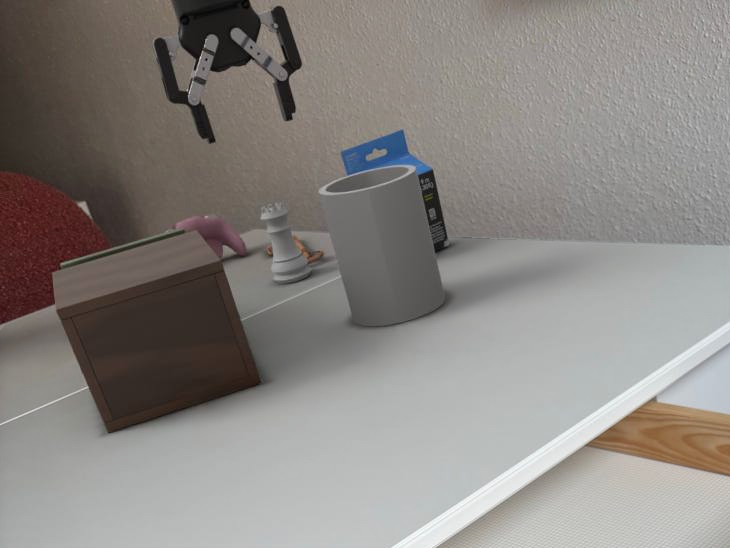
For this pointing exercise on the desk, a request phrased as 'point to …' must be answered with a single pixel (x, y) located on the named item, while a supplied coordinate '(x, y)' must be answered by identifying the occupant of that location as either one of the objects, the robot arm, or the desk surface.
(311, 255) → the key
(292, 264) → the white chess rook
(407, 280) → the cup
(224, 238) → the video game controller
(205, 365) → the cabinet
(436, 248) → the tape cartridge
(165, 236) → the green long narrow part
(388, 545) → the desk surface
